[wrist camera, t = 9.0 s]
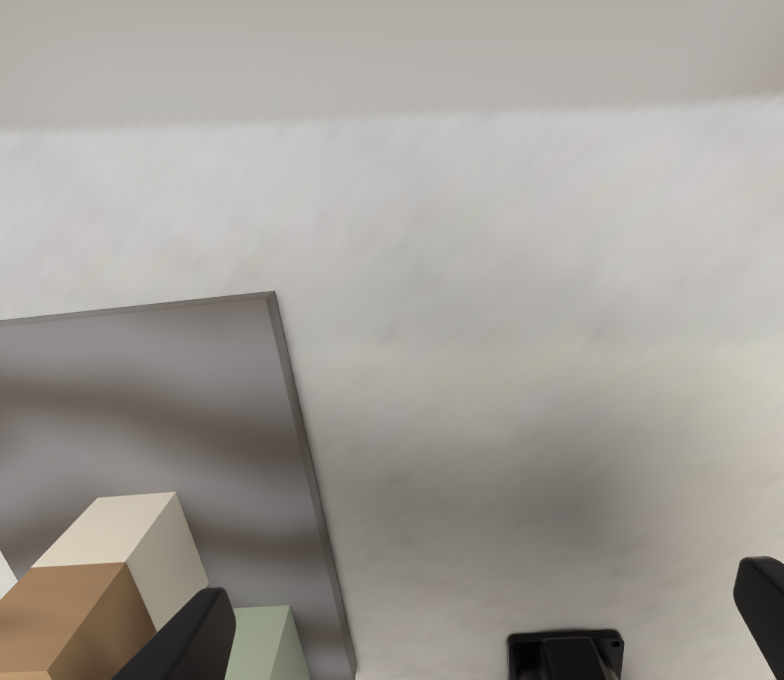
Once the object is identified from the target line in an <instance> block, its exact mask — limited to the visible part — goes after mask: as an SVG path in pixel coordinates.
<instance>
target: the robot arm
mask: <svg viewBox="0 0 784 680" xmlns="http://www.w3.org/2000/svg"><path fill="white" fill-rule="evenodd" d="M733 595H734V601H735V603H736V606H737V608H738V610H739V612H740V614H741V616H742V617H743V619H744V621H745V623H746V625H747V627H748V628H749V630H750V632H751V634H752V636H753V637H754V639H755V641H756V643H757V645H758V647H759V648H760V650H761V652H762V654H763V656H764V657H765V659H766V661H767V663H768V665H769V667H770V668H771V670H772V672H773V674H774V676H775V677H776V679H777V680H784V564H783V563H782V562H780V561H778V560H776V559H774V558H772V557H768V556H758V557H745V558H743V559H742V560H741V561H740V563H739V568H738V572H737V576H736V581H735V585H734V590H733ZM235 632H236V617H235V614H234V611H233V608H232V605H231V602H230V599H229V596H228V594H227V591H226V590H225V589H224V588H223V587H214V588H204V589H201V590H200V591H198V592H197V593H196V594H195V595H194V596H193V597H192V598H191V599H190V600H189V601H188V602H187V603H186V604H185V605H184V606H183V607H182V608H181V609H180V610H179V611H178V612H177V613H176V614H175V615H174V616H173V617H172V618H171V619H170V620H169V621H168V622H167V623H166V624H165V625H164V626H163V627H162V628H161V629H160V630H159V631H158V632H157V633H156V634H155V635H154V636H153V637H152V638H151V639H150V640H149V641H148V642H147V643H146V644H145V645H144V646H143V647H142V648H141V649H140V650H139V651H138V652H137V653H136V654H135V655H134V656H133V657H132V658H131V659H130V660H129V661H128V662H127V663H126V664H125V665H124V666H123V667H122V668H121V669H120V670H119V671H118V672H117V673H116V674H115V675H114V676H113V677H112V678H111V679H110V680H225V676H226V671H227V667H228V663H229V658H230V654H231V650H232V645H233V641H234V637H235ZM623 652H624V641H623V639H622V637H621V634H620V633H618V632H615V631H609V632H588V633H566V634H545V635H524V636H512V637H510V638H509V639H508V640H507V656H508V680H620V678H621V670H622V661H623Z"/></svg>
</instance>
